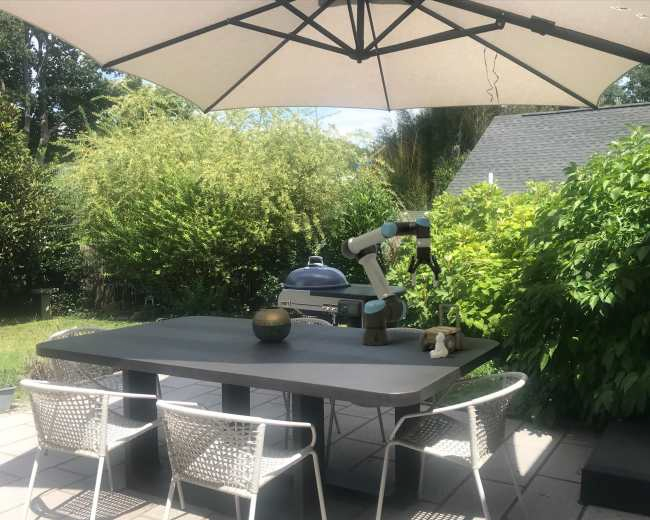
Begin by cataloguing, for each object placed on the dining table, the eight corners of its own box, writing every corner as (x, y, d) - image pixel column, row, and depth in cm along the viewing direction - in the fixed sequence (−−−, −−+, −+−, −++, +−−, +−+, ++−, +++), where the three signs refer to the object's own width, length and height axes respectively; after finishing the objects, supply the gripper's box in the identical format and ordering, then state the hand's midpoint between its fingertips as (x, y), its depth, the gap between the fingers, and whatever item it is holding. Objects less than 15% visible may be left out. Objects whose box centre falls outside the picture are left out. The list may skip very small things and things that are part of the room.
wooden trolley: (446, 354, 314) (445, 309, 313) (419, 351, 324) (417, 307, 323) (465, 348, 328) (464, 304, 327) (439, 345, 338) (438, 303, 337)
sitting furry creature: (429, 354, 315) (429, 330, 315) (447, 354, 314) (446, 330, 314) (431, 358, 306) (430, 333, 305) (449, 358, 305) (448, 333, 304)
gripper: (400, 246, 343) (401, 286, 344) (439, 246, 326) (440, 287, 327) (408, 246, 348) (409, 284, 350) (447, 246, 332) (448, 286, 333)
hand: (424, 286), depth 338 cm, fingers open, 13 cm apart
